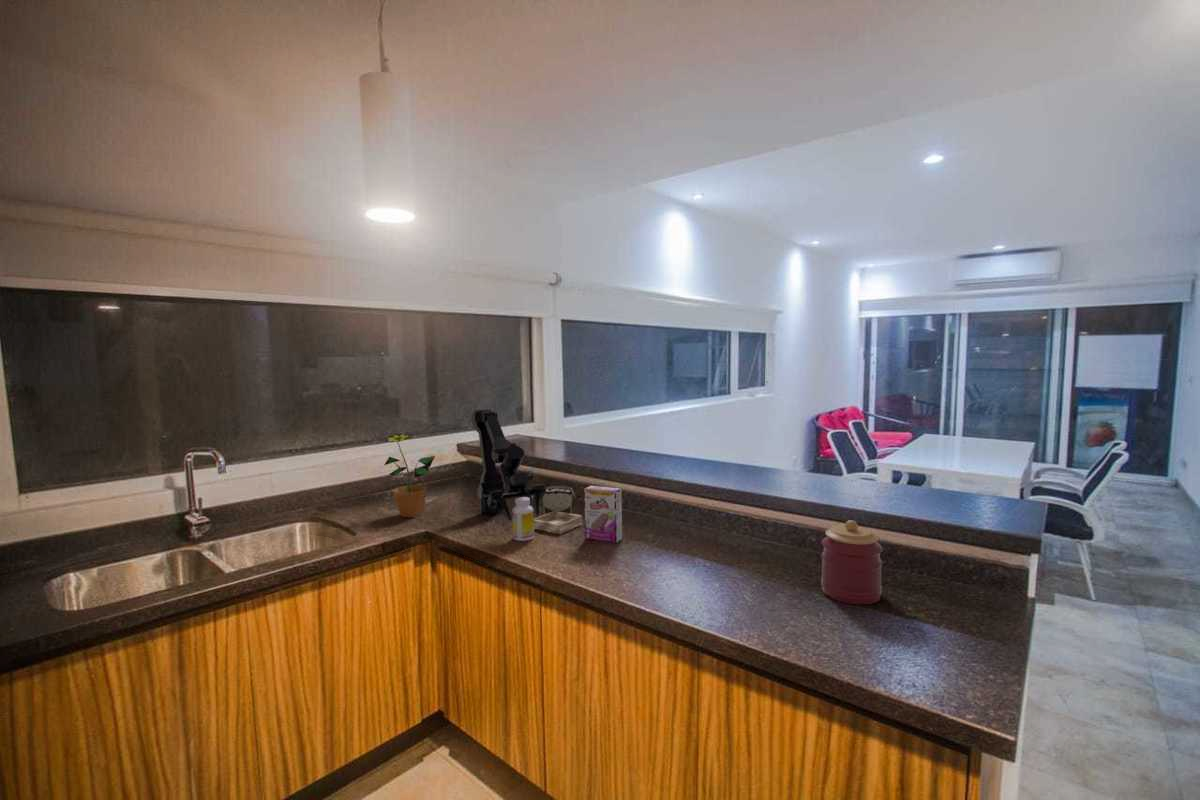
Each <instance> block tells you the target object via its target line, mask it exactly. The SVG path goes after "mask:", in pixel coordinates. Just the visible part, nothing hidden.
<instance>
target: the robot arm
mask: <svg viewBox="0 0 1200 800" xmlns="http://www.w3.org/2000/svg"><path fill="white" fill-rule="evenodd" d="M470 421H471V423H472V426H473V429H474V430H475V431H476V433H478V437H479V439H478V440H479V446H480V453H481V454H480V455H481V461H482V462H481V463H482V469H483V471H482V475H481V476H480V479H479V482H480V483H479V485H478V489H477V491H476V493H477V497H478V498H479V499H480V504H481V506H480V507H481V512H480V513H479V515H480V516H498V514H500V513H501V514H502V515H503V516H504V517H505V518H506V519H507V520H508V521H509V522H511V521H512V515H511V513H510V509H509V507H508V504H507V500H513V499H516V498H520V497H529V498H530V503H531V506H532V507H533V512H534V515H535V516H536V517H539V515H540V501H541V500H543V496H544V494H545V492H546V488H547V487H546V486H545V484H543V483H540V484H539V483H538V484H533V485H532V486H531V488H530V489H527V490H526V488H527V486H528V485H527V484H529V483H530V482H532V481H533V480H534V476H533V472H532V470H526V471H524V472H522V473H520V471H519V469H518V468H519V467H520V466H521V464H522V461H523V459H524V456H525V450H524V449H523V448H521V446H518V445H516V443H515V442H514V443H512V442H511V441H510V440H508V439H506V437H505V434H504V432H503V431H504V430H503V429H502V427H501V424H500V421H499V419H498V412H497V411H494V410H492V409H490V408H489V409H488V408H487V409H486V408H485V409H474V410H473V412H472V413H470ZM496 464H500V465H499V467H498V469H499V471H498V470H497V468H496V467H497V466H496ZM505 490H506V492H505ZM478 498H477V499H478Z"/></svg>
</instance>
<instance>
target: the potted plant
mask: <svg viewBox="0 0 1200 800" xmlns="http://www.w3.org/2000/svg"><path fill="white" fill-rule="evenodd" d="M409 436H410V435H409V434H407V433H406V434H405V433H399V434H394V435H389V436H388V437H387V438H386V439H385V442H390V443H397V444H398V447H399V448H398V449H399V451H400V453H401V456H402V458H403V459H402V460H403V461H404V465H405V466H402V467H401V466H399V465H398V464H397V463H396V462H400V461H401V460H400V459H397V458H395V457H391V456H389V457H388V458H387V460H386V461H385V463H384V466H386V465H390V464H392V463H393V464H395V466H396V467H397V469H395V470H393V471H392V472H390V473H389V474H388V476H395V477H396V475H398V474H400V473H402V472H403V471H405V470H406V472H407V477H408V485H404V486H398V487H395V488H394V489H392V491H391V492H392V494H393V497H394V500H395V503H396V505H397V508H398V511H399V514H400V517H402V518H403V517H409V519H410V517H412V518H417V516H418V517H420V516H422V514H423V510H424V504H425V500H426V495H427V490H428V486H427V485H424V484H423V485H422V484H411V476H412V474H414V478H415V479H416V478H419V477H422V476H424V475H428V474H429V473H430V472H429V468H431V467H432V464H433V461H434V460H435V457H436V455H431V456H427V457H421V458H419V459H418V460H417V463H416V465H415V466H414V469H413V470H412V472H411V473H410V471H409V467H408V464H407V461H406V459H405V456H404V454H403V452H402V449H401V446H400V443H399V442H400V441H405V440H407V439H408V437H409ZM418 463H421V464H423V465H422V466H419V467H417V466H418ZM419 515H420V516H419Z"/></svg>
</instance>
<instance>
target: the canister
mask: <svg viewBox="0 0 1200 800" xmlns="http://www.w3.org/2000/svg"><path fill="white" fill-rule="evenodd" d="M824 533H825V535H826V537H824V538H823V539H822V540H821V545H822V546H823V552H822V553H821V558H822V559H821V560H822V561H821V579H820V582H821V583H820V586H821V588H822V589H821V590H822V592H823V594H825V595H826V596H827V597H829V598H831V599H833V600H835V601H838V602H842V603H845V604H851V605H864V606H865V605H871V604H874V603H877V602H879V601H880V600H881V596H882V593H883V592H882V591H883V590H882V589H883V587H882V566H883V562H882V559H881V555H880V554H881V553H882V552H883V547H882V545H881V544H880V543H879V542H878V541H879V539H880V538H879V536H878V535H877V534H876V533H874V532H872V530H870V529H869V528H866V527H863V526H859V525H858V523H857V522H856V521H855V520H852V519H849V520H847V521H846V522H845V524H837V525H833V526H832V527H831V528H828V529H827V530H825V532H824Z"/></svg>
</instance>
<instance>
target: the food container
mask: <svg viewBox="0 0 1200 800" xmlns="http://www.w3.org/2000/svg"><path fill="white" fill-rule="evenodd" d="M573 496H575V493H574V489H573V488H572V487H569V486H561V485H560V486H559V485H558V486H549V487H546V492H545V494H544V496H543V498H542V505H543V512H544V515H545V514H547V513H550V512H552V511H558V512H564V513H570V514H572V504H573Z"/></svg>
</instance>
